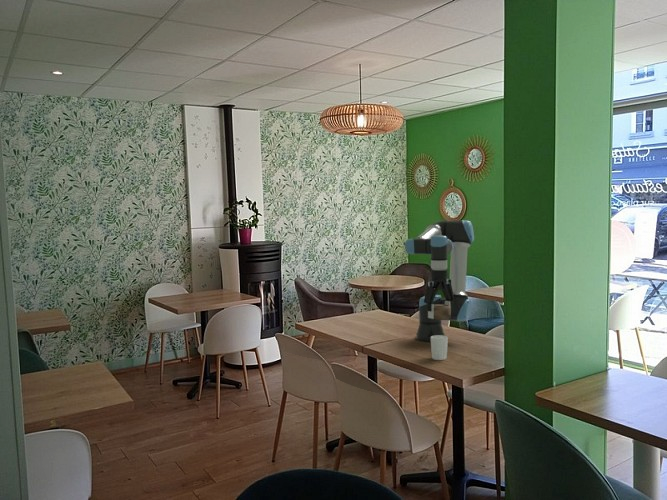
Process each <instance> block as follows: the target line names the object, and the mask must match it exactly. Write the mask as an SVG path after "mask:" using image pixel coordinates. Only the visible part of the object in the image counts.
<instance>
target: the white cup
mask: <svg viewBox="0 0 667 500" xmlns="http://www.w3.org/2000/svg"><path fill="white" fill-rule="evenodd" d="M448 340H449V337H448V336H447V335H445V336H442V335H435V336H431V342H430V349H431V352H430V353H431V359H432V360H436V361H444V360H447V358H448V357H447V356H448V355H447V354H448V343H449V342H448Z"/></svg>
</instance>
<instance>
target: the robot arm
mask: <svg viewBox="0 0 667 500" xmlns="http://www.w3.org/2000/svg"><path fill="white" fill-rule="evenodd" d="M472 223H473V222H471V221H470V220H464V219H462V220H440V221H436V222H433V223H431V224H430V225H428V226H426V227H425V229H424V231H423V232H421V234H419V235H418V236H416V238H412V237H411V238H407V239H406V240H405V242H404V243H405V245H404V248H405V252H406V254H408V255H430V269H431V270H430V277H431V281H426V290H425V294H424V296H422V297H420V298H419V302H418V303H419V304H418V308H419V309H418V313H419V314H418V317H419V318H418V319H419V320H418V321H419V325H418V328H417V331H416V334H415V335H416V336H415V337H416V340H418V341H421V342H430V343H431V336H435V335H442V336H446V335H445V333H444V329H443V326H442V325H443V324H442V321H448V322H449V321H450V322H466V321H468V319H469V317H470V314H471V310H472V309H471V308H472V300H471V299H469V296H468V294H467V292H466V289H467V288H466V287H467V286H466V285H467V266H468V265H467V264H468V250H469V248H470V247H471V244H472V243H473V242H474V241H475V233H474V227H473V224H472ZM448 254H450V259H449V260H450V262H449V279H448V270H447V269H448ZM439 290H441V291H442V294H443V295H444V297H442V295H441V294H437V293H438V292H439ZM436 304H441V305H449V306H451V318H449V319H434V305H436ZM431 318H432V319H431Z"/></svg>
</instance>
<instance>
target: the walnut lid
mask: <svg viewBox="0 0 667 500" xmlns="http://www.w3.org/2000/svg"><path fill="white" fill-rule="evenodd" d="M449 318H451V306H449V305H441V304H436V305H434V319H449ZM431 319H432V318H431Z"/></svg>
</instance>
